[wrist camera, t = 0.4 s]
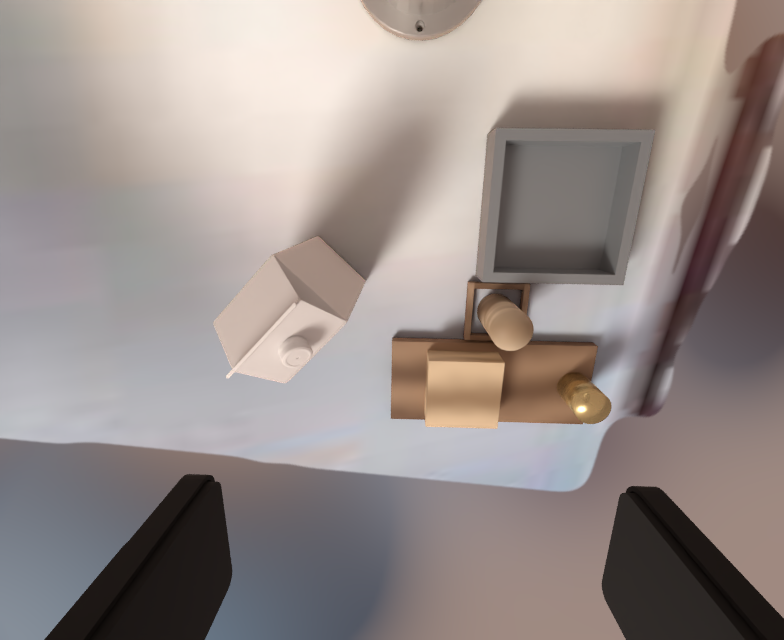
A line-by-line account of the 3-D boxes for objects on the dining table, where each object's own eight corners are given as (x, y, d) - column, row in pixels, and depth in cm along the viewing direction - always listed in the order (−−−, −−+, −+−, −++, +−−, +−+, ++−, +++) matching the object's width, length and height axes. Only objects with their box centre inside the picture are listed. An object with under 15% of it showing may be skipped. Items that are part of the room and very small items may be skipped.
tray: (487, 134, 37) (496, 127, 34) (631, 136, 37) (655, 129, 33) (475, 275, 41) (482, 282, 38) (604, 277, 41) (623, 285, 37)
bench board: (392, 337, 44) (392, 341, 43) (592, 342, 43) (597, 346, 42) (391, 413, 47) (390, 418, 46) (578, 418, 46) (582, 424, 45)
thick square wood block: (427, 350, 43) (428, 361, 40) (497, 352, 43) (504, 363, 40) (424, 412, 45) (425, 426, 42) (491, 414, 45) (497, 428, 42)
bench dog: (559, 371, 43) (578, 392, 38) (591, 372, 43) (614, 393, 38) (554, 399, 44) (573, 423, 39) (585, 400, 44) (607, 424, 39)
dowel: (478, 293, 42) (493, 310, 35) (514, 293, 42) (536, 311, 35) (475, 327, 43) (488, 350, 36) (510, 328, 43) (530, 351, 36)
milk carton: (277, 281, 42) (182, 342, 24) (318, 234, 40) (250, 262, 22) (324, 323, 43) (268, 412, 25) (366, 280, 42) (338, 341, 24)
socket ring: (467, 281, 41) (469, 283, 41) (528, 282, 41) (530, 284, 41) (463, 337, 43) (464, 340, 43) (521, 339, 43) (523, 341, 43)
